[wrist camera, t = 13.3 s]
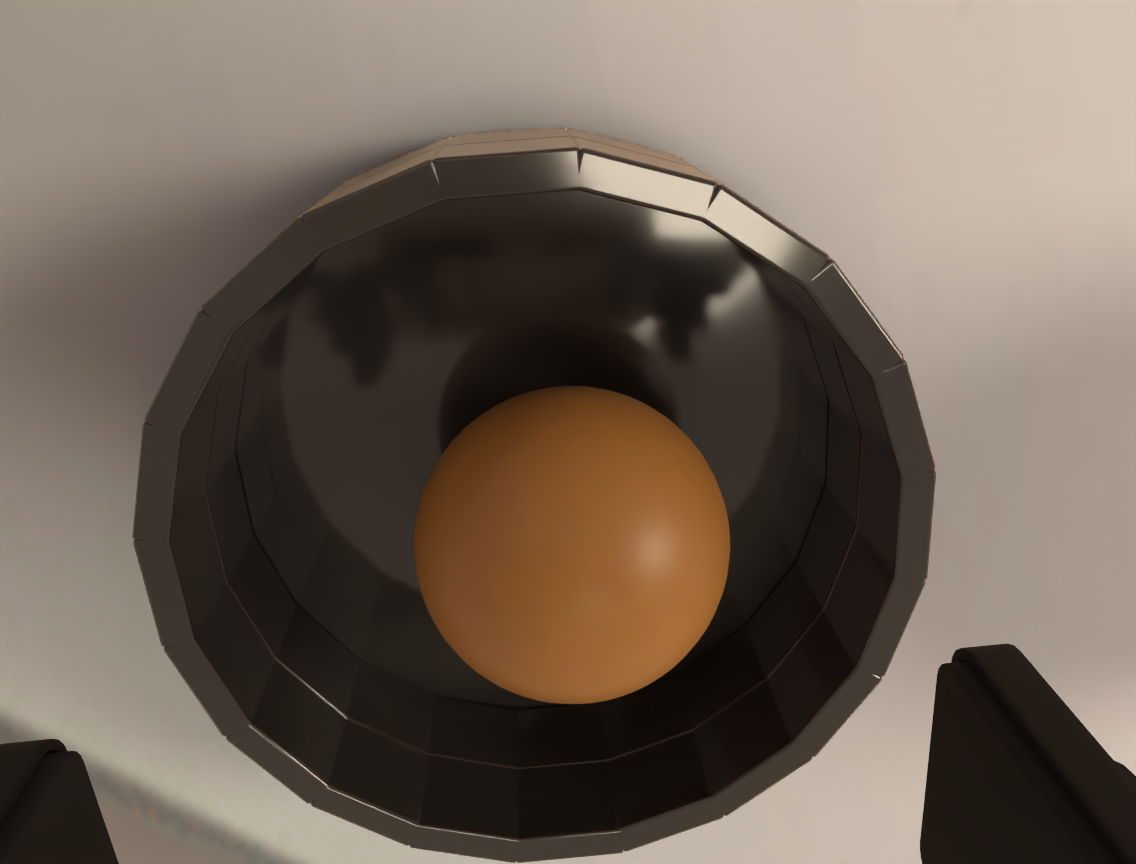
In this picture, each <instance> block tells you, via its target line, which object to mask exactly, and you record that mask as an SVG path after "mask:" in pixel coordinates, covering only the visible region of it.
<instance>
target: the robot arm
mask: <svg viewBox="0 0 1136 864" xmlns="http://www.w3.org/2000/svg"><path fill="white" fill-rule="evenodd" d="M920 852H921V859H922V864H1136V776H1135V775H1134V774H1133V773H1132V772H1131V771H1129V770H1128V769H1127V768H1126V767H1125V766H1124V765H1123V764H1120V763H1118V762H1116V761H1114V760H1113V759H1112V758H1111V757H1110V756H1109V755H1108V753H1107V752H1106V751H1105V750H1104V749H1103V748H1102V746H1101V745H1100V744H1099V743H1098V742H1097V741H1096V739H1095V738H1094V737H1093V736H1092V735H1091V733H1090V732H1089V731H1088V730H1087V729H1086V728H1085V726H1084V725H1083V724H1082V723H1081V722H1080V721H1079V719H1078V718H1077V717H1076V716H1075V715H1074V714H1073V712H1072V711H1071V710H1070V709H1069V708H1068V706H1067V705H1066V704H1065V703H1064V702H1063V701H1062V699H1061V698H1060V697H1059V696H1058V695H1057V694H1056V692H1055V691H1054V690H1053V689H1052V688H1051V687H1050V685H1049V684H1048V683H1047V682H1046V681H1045V680H1044V678H1043V677H1042V676H1041V675H1040V674H1039V672H1038V671H1037V670H1036V669H1035V668H1034V667H1033V665H1032V664H1031V663H1030V662H1029V661H1028V660H1027V658H1026V657H1025V656H1024V655H1023V654H1022V653H1021V651H1020V650H1018V649H1017V648H1016V647H1015V646H1014V645H1011V644H999V645H989V646H979V647H969V648H960V649H958V650H956V651H955V653H954V655H953V657H952V662H951V663H944V664H942V665H941V666H940V668H939V670H938V675H937V684H936V693H935V703H934V713H933V723H932V732H931V742H930V752H929V762H928V771H927V781H926V791H925V801H924V810H923V820H922V830H921V839H920ZM0 864H118V861H117V858H116V855H115V852H114V849H113V846H112V843H111V840H110V837H109V834H108V831H107V828H106V825H105V823H104V820H103V817H102V814H101V811H100V808H99V805H98V802H97V799H96V796H95V793H94V790H93V787H92V785H91V782H90V779H89V776H88V773H87V770H86V767H85V764H84V761H83V759H82V757H81V755H80V754H79V753H78V752H76V751H67V750H66V748H65V746H64V744H63V743H62V742H60V741H59V740H56V739H46V740H36V741H26V742H16V743H6V744H0Z"/></svg>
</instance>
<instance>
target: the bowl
mask: <svg viewBox="0 0 1136 864" xmlns="http://www.w3.org/2000/svg"><path fill="white" fill-rule="evenodd" d="M558 386H588V387H595V388H601V389H606V390H610V391H614V392H617V393H620V394H623V395H627V396H630V397H632V398H634V399H636V400H638V401H640V402H643V403H645V404H646V405H648V406H650V407H651V408H653V409H655V410H656V411H658V412H659V413H661V414H662V415H664V416H665V417H667V418H668V419H670V420H671V421H672V422H673V423H674V424H675V425H676V426H677V427H678V428H680V429H681V430H682V431H683V432H684V433H685V434H686V435H687V436H688V437H689V438H690V439H691V441H692V442H693V443H694V444H695V446H696V447H697V448H698V449H699V451H700V452H701V454H702V455H703V457H704V458H705V460H706V462H707V463H708V465H709V467H710V469H711V470H712V472H713V474H714V476H715V478H716V480H717V483H718V486H719V488H720V491H721V494H722V497H723V500H724V503H725V506H726V511H727V516H728V522H729V531H730V557H729V566H728V575H727V579H726V583H725V587H724V591H723V594H722V596H721V599H720V602H719V604H718V607H717V609H716V612H715V614H714V616H713V618H712V620H711V622H710V624H709V626H708V627H707V629H706V631H705V632H704V633H703V635H702V636H701V638H700V639H699V641H698V642H697V643H696V644H695V645H694V647H693V648H692V649H691V650H690V651H689V652H688V654H687V655H686V656H685V657H684V658H683V659H682V660H681V661H680V662H679V663H678V664H677V665H676V666H674V667H673V668H672V669H671V670H669V671H668V672H667V673H666V674H664V675H663V676H662V677H660V678H658V679H657V680H655V681H654V682H652V683H650V684H649V685H647V686H645V687H643V688H641V689H639V690H637V691H635V692H632V693H629V694H627V695H624V696H621V697H618V698H614V699H611V700H607V701H601V702H595V703H586V704H558V703H549V702H543V701H538V700H534V699H531V698H527V697H524V696H521V695H518V694H515V693H513V692H511V691H508V690H506V689H504V688H501V687H499V686H498V685H496V684H494V683H493V682H491V681H489V680H488V679H486V678H485V677H483V676H482V675H480V674H479V673H477V672H476V671H475V670H474V669H472V668H471V667H470V666H469V665H468V664H466V663H465V662H464V661H463V660H462V659H461V658H460V656H459V655H458V654H457V653H456V652H455V651H454V650H453V649H452V647H451V646H450V645H449V644H448V643H447V642H446V641H445V639H444V638H443V636H442V635H441V633H440V631H439V630H438V628H437V627H436V625H435V623H434V621H433V620H432V618H431V616H430V614H429V612H428V609H427V607H426V604H425V602H424V600H423V597H422V593H421V590H420V586H419V582H418V578H417V574H416V567H415V554H414V533H415V522H416V517H417V512H418V508H419V504H420V499H421V496H422V493H423V490H424V488H425V485H426V483H427V480H428V478H429V476H430V474H431V472H432V471H433V469H434V467H435V465H436V463H437V462H438V460H439V458H440V456H441V455H442V454H443V452H444V451H445V450H446V448H447V447H448V445H449V444H450V443H451V441H452V440H453V439H454V438H455V437H456V436H457V435H458V434H459V433H460V432H461V431H462V430H463V429H464V428H465V427H466V426H468V425H469V424H470V423H471V422H472V421H474V420H475V419H476V418H477V417H479V416H480V415H482V414H483V413H485V412H486V411H488V410H490V409H491V408H493V407H494V406H496V405H498V404H500V403H502V402H504V401H506V400H508V399H510V398H512V397H515V396H518V395H521V394H524V393H527V392H530V391H534V390H539V389H544V388H548V387H558ZM934 469H935V464H934V460H933V457H932V453H931V449H930V446H929V442H928V439H927V435H926V431H925V428H924V424H923V421H922V417H921V413H920V410H919V406H918V402H917V399H916V395H915V392H914V388H913V384H912V381H911V377H910V373H909V370H908V366H907V363H906V361H905V360H904V359H903V354H902V353H901V351H900V350H899V349H898V347H897V346H896V344H895V343H894V342H893V340H892V339H891V338H890V336H889V335H888V333H887V332H886V331H885V329H884V328H883V327H882V325H881V324H880V323H879V321H878V320H877V318H876V317H875V316H874V314H873V313H872V312H871V310H870V309H869V307H868V306H867V305H866V303H865V302H864V301H863V299H862V298H861V296H860V295H859V294H858V292H857V291H856V290H855V288H854V287H853V286H852V284H851V283H850V281H849V280H848V279H847V277H846V276H845V275H844V273H843V272H842V270H841V269H840V268H839V266H838V265H837V264H836V262H835V261H834V260H833V259H831V258H830V257H829V256H828V254H826V253H825V252H823V251H822V250H820V249H819V248H817V247H816V246H814V245H813V244H811V243H810V242H808V241H807V240H805V239H804V238H802V237H801V236H799V235H798V234H796V233H795V232H793V231H792V230H790V229H789V228H787V227H786V226H784V225H783V224H781V223H780V222H778V221H777V220H775V219H774V218H772V217H771V216H769V215H768V214H766V213H765V212H763V211H762V210H760V209H759V208H757V207H756V206H754V205H753V204H751V203H750V202H748V201H747V200H745V199H744V198H742V197H741V196H739V195H738V194H736V193H735V192H733V191H732V190H730V189H729V188H727V187H726V186H724V185H723V184H721V183H720V182H718V181H716V180H715V179H713V178H712V177H710V176H709V175H707V174H705V173H704V172H702V171H700V170H699V169H697V168H696V167H694V166H693V165H691V164H689V163H688V162H686V161H685V160H683V159H681V158H678V157H676V156H674V155H672V154H668V153H664V152H660V151H656V150H652V149H649V148H647V147H643V146H640V145H636V144H633V143H629V142H625V141H622V140H618V139H614V138H611V137H607V136H603V135H598V134H590V133H587V132H583V131H579V130H575V129H571V128H569V129H567V130H566V129H565V128H551V129H507V130H500V131H493V132H486V133H479V134H472V135H459V136H453V137H451V138H450V139H449V138H444V139H442V140H440V141H437V142H435V143H433V144H430V145H428V146H426V147H423V148H419V149H416V150H414V151H412V152H410V153H407V154H405V155H403V156H401V157H398V158H396V159H394V160H392V161H389V162H387V163H385V164H383V165H381V166H378V167H376V168H374V169H372V170H370V171H368V172H366V173H363V174H361V175H359V176H356V177H354V178H352V179H349V180H347V181H346V182H345V183H343V184H341V185H340V186H338V187H337V188H336V189H334V190H333V191H332V192H330V193H329V194H328V195H326V196H325V197H324V198H322V199H321V200H320V201H318V202H317V203H316V204H314V205H313V206H312V207H310V208H309V209H308V210H306V211H305V212H304V213H302V214H301V215H300V216H298V217H297V218H296V219H295V220H294V221H293V222H291V223H290V224H289V225H288V226H287V227H286V228H285V229H284V230H283V231H282V232H281V233H280V234H279V235H277V236H276V237H275V238H274V239H273V240H272V241H271V242H270V243H269V244H268V245H267V246H266V247H265V248H263V249H262V250H261V251H260V252H259V253H258V254H257V255H256V256H255V257H254V258H253V259H252V260H251V261H249V262H248V263H247V264H246V265H245V266H244V267H243V268H242V269H241V270H240V271H239V272H238V273H237V274H236V275H234V276H233V277H232V278H231V279H230V280H229V281H228V282H227V283H226V284H225V285H224V286H223V287H222V288H220V289H219V290H218V291H217V292H216V293H215V294H214V295H213V296H212V297H211V298H210V299H209V300H208V301H206V302H205V303H204V304H203V305H202V309H201V310H199V311H198V312H197V314H196V316H195V318H194V320H193V322H192V324H191V326H190V328H189V330H188V332H187V334H186V336H185V338H184V340H183V342H182V344H181V346H180V348H179V350H178V352H177V354H176V356H175V358H174V360H173V362H172V364H171V366H170V368H169V370H168V372H167V374H166V376H165V378H164V380H163V382H162V384H161V386H160V388H159V390H158V392H157V394H156V396H155V398H154V400H153V402H152V404H151V406H150V408H149V410H148V412H147V414H146V417H145V422H144V424H143V428H142V439H141V449H140V460H139V471H138V482H137V492H136V503H135V514H134V525H133V538H134V547H135V550H136V554H137V558H138V561H139V565H140V569H141V572H142V576H143V579H144V583H145V587H146V590H147V594H148V598H149V601H150V605H151V609H152V612H153V616H154V619H155V623H156V627H157V630H158V634H159V638H160V641H161V645H162V646H164V651H165V653H166V654H167V655H168V657H169V658H170V660H171V661H172V663H173V664H174V666H175V667H176V669H177V670H178V671H179V673H180V674H181V676H182V677H183V679H184V680H185V682H186V683H187V685H188V686H189V687H190V689H191V690H192V692H193V693H194V695H195V696H196V698H197V699H198V700H199V702H200V703H201V705H202V706H203V708H204V709H205V711H206V712H207V714H208V715H209V716H210V718H211V719H212V721H213V722H214V724H215V725H216V727H217V728H218V730H219V731H220V732H221V734H222V735H223V736H226V739H227V740H228V741H229V742H230V743H231V744H233V745H234V746H235V747H236V748H238V749H239V750H240V751H241V752H243V753H244V754H245V755H247V756H248V757H249V758H250V759H252V760H253V761H254V762H255V763H257V764H258V765H259V766H261V767H262V768H263V769H264V770H266V771H267V772H268V773H269V774H271V775H272V776H273V777H275V778H276V779H277V780H278V781H280V782H281V783H282V784H283V785H285V786H286V787H287V788H289V789H290V790H291V791H292V792H294V793H295V794H296V795H297V796H299V797H300V798H301V799H302V800H304V801H305V802H306V803H311V805H312V806H313V807H315V808H318V809H320V810H323V811H325V812H327V813H330V814H332V815H334V816H337V817H339V818H342V819H344V820H346V821H349V822H351V823H354V824H356V825H358V826H361V827H363V828H366V829H368V830H370V831H373V832H375V833H378V834H380V835H382V836H385V837H387V838H390V839H392V840H394V841H397V842H399V843H402V844H404V845H408V846H409V845H410V847H411V848H417V849H424V850H431V851H437V852H444V853H451V854H458V855H465V856H472V857H478V858H485V859H492V860H499V861H506V862H513V863H515V862H516V861H517V862H518V863H521V862H532V861H542V860H553V859H563V858H574V857H585V856H595V855H606V854H616V853H622V852H623V850H624V851H629V850H632V849H635V848H638V847H641V846H644V845H646V844H649V843H652V842H655V841H658V840H661V839H664V838H667V837H669V836H672V835H675V834H678V833H681V832H684V831H687V830H690V829H692V828H695V827H698V826H701V825H704V824H707V823H710V822H713V821H716V820H718V819H721V818H723V815H725V816H727V815H729V814H730V813H732V812H733V811H735V810H737V809H738V808H740V807H741V806H743V805H744V804H746V803H747V802H749V801H750V800H752V799H753V798H755V797H756V796H758V795H759V794H761V793H762V792H764V791H765V790H767V789H768V788H770V787H771V786H773V785H774V784H776V783H777V782H779V781H780V780H782V779H783V778H785V777H786V776H788V775H789V774H791V773H792V772H794V771H795V770H797V769H798V768H800V767H801V766H803V765H804V764H806V763H808V762H809V761H811V759H812V757H815V756H816V755H817V754H818V753H819V752H820V751H821V749H822V748H823V747H824V746H825V745H826V744H827V743H828V741H829V740H830V739H831V738H832V737H833V736H834V734H835V733H836V732H837V731H838V730H839V729H840V728H841V726H842V725H843V724H844V723H845V722H846V721H847V719H848V718H849V717H850V716H851V715H852V714H853V713H854V711H855V710H856V709H857V708H858V707H859V706H860V705H861V703H862V702H863V701H864V700H865V699H866V698H867V696H868V695H869V694H870V693H871V692H872V691H873V690H874V688H875V687H876V686H877V685H878V684H879V683H880V681H881V680H882V677H883V676H884V675H885V673H886V671H887V669H888V667H889V664H890V662H891V660H892V658H893V655H894V653H895V651H896V648H897V646H898V644H899V642H900V639H901V637H902V635H903V633H904V630H905V628H906V626H907V624H908V621H909V619H910V617H911V614H912V612H913V610H914V608H915V605H916V603H917V601H918V599H919V596H920V594H921V592H922V590H923V587H924V585H925V579H926V578H927V573H928V561H929V549H930V538H931V526H932V514H933V502H934V491H935V479H936V472H935V470H934Z"/></svg>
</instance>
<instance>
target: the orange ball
mask: <svg viewBox="0 0 1136 864" xmlns="http://www.w3.org/2000/svg"><path fill="white" fill-rule="evenodd" d="M414 554H415V567H416V574H417V578H418V582H419V586H420V590H421V593H422V597H423V600H424V602H425V604H426V607H427V609H428V612H429V614H430V616H431V618H432V620H433V621H434V623H435V625H436V627H437V628H438V630H439V631H440V633H441V635H442V636H443V638H444V639H445V641H446V642H447V643H448V644H449V645H450V646H451V647H452V649H453V650H454V651H455V652H456V653H457V654H458V655H459V656H460V658H461V659H462V660H463V661H464V662H465V663H466V664H468V665H469V666H470V667H471V668H472V669H474V670H475V671H476V672H477V673H479V674H480V675H482V676H483V677H485V678H486V679H488V680H489V681H491V682H493V683H494V684H496V685H498V686H499V687H501V688H504V689H506V690H508V691H511V692H513V693H515V694H518V695H521V696H524V697H527V698H531V699H534V700H538V701H543V702H549V703H558V704H586V703H595V702H601V701H607V700H611V699H614V698H618V697H621V696H624V695H627V694H629V693H632V692H635V691H637V690H639V689H641V688H643V687H645V686H647V685H649V684H650V683H652V682H654V681H655V680H657V679H658V678H660V677H662V676H663V675H664V674H666V673H667V672H668V671H669V670H671V669H672V668H673V667H674V666H676V665H677V664H678V663H679V662H680V661H681V660H682V659H683V658H684V657H685V656H686V655H687V654H688V652H689V651H690V650H691V649H692V648H693V647H694V645H695V644H696V643H697V642H698V641H699V639H700V638H701V636H702V635H703V633H704V632H705V631H706V629H707V627H708V626H709V624H710V622H711V620H712V618H713V616H714V614H715V612H716V609H717V607H718V604H719V602H720V599H721V596H722V594H723V591H724V587H725V583H726V579H727V575H728V566H729V557H730V531H729V522H728V516H727V511H726V506H725V503H724V500H723V497H722V494H721V491H720V488H719V486H718V483H717V480H716V478H715V476H714V474H713V472H712V470H711V469H710V467H709V465H708V463H707V462H706V460H705V458H704V457H703V455H702V454H701V452H700V451H699V449H698V448H697V447H696V446H695V444H694V443H693V442H692V441H691V439H690V438H689V437H688V436H687V435H686V434H685V433H684V432H683V431H682V430H681V429H680V428H678V427H677V426H676V425H675V424H674V423H673V422H672V421H671V420H670V419H668V418H667V417H665V416H664V415H662V414H661V413H659V412H658V411H656V410H655V409H653V408H651V407H650V406H648V405H646V404H645V403H643V402H640V401H638V400H636V399H634V398H632V397H630V396H627V395H623V394H620V393H617V392H614V391H610V390H606V389H601V388H595V387H588V386H558V387H548V388H544V389H539V390H534V391H530V392H527V393H524V394H521V395H518V396H515V397H512V398H510V399H508V400H506V401H504V402H502V403H500V404H498V405H496V406H494V407H493V408H491V409H490V410H488V411H486V412H485V413H483V414H482V415H480V416H479V417H477V418H476V419H475V420H474V421H472V422H471V423H470V424H469V425H468V426H466V427H465V428H464V429H463V430H462V431H461V432H460V433H459V434H458V435H457V436H456V437H455V438H454V439H453V440H452V441H451V443H450V444H449V445H448V447H447V448H446V450H445V451H444V452H443V454H442V455H441V456H440V458H439V460H438V462H437V463H436V465H435V467H434V469H433V471H432V472H431V474H430V476H429V478H428V480H427V483H426V485H425V488H424V490H423V493H422V496H421V499H420V504H419V508H418V512H417V517H416V522H415V533H414Z"/></svg>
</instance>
